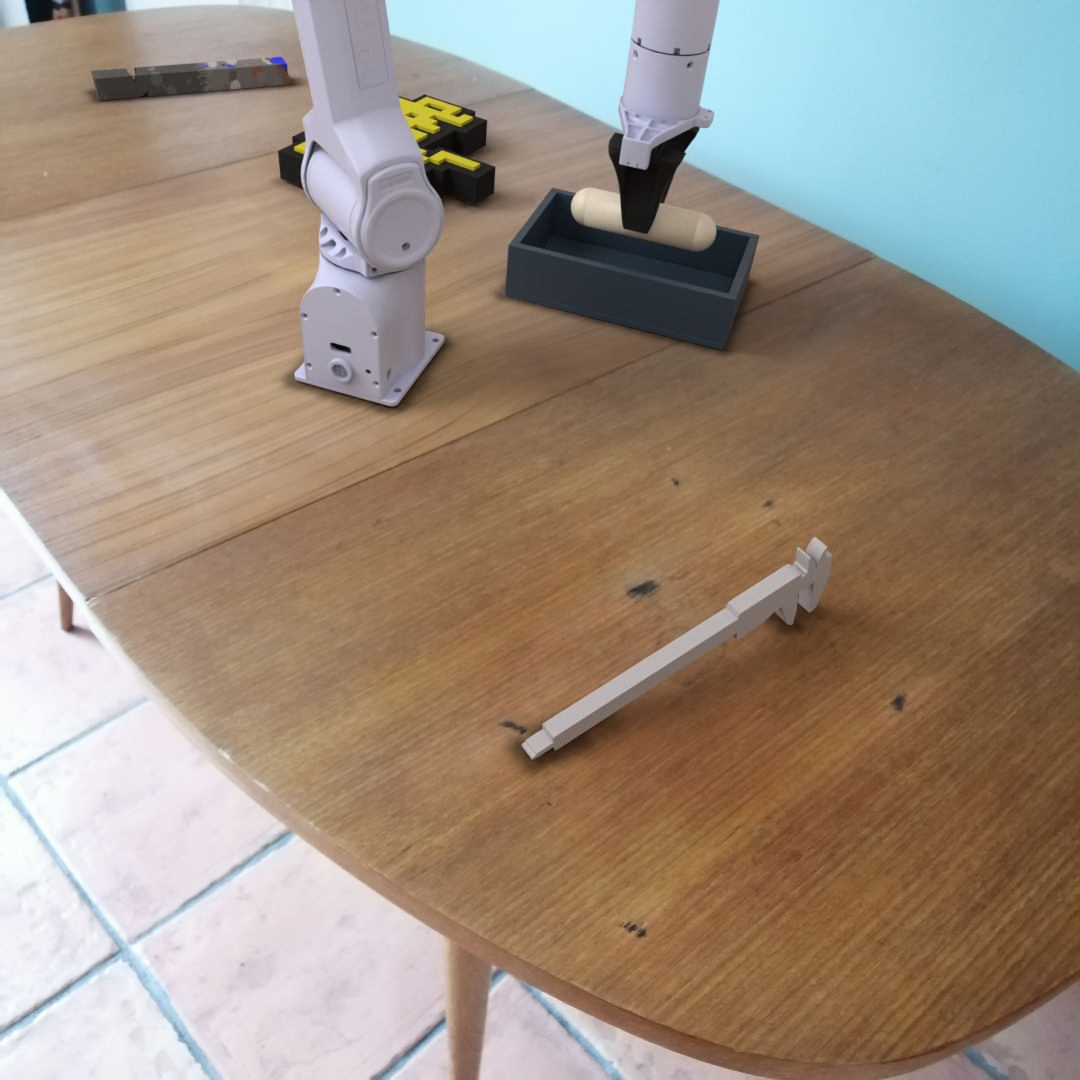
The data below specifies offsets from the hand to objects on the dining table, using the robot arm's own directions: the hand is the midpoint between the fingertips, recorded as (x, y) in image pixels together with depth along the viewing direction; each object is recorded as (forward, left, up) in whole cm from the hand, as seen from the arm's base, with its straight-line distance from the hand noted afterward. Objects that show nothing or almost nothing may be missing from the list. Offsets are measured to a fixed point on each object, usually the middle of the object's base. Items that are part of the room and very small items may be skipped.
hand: (641, 220), depth 81 cm
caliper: (-39, -13, -6) cm, 42 cm away
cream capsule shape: (0, 0, -1) cm, 1 cm away
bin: (0, 0, -6) cm, 6 cm away
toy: (+12, +25, -6) cm, 28 cm away
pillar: (+19, +53, -6) cm, 57 cm away
